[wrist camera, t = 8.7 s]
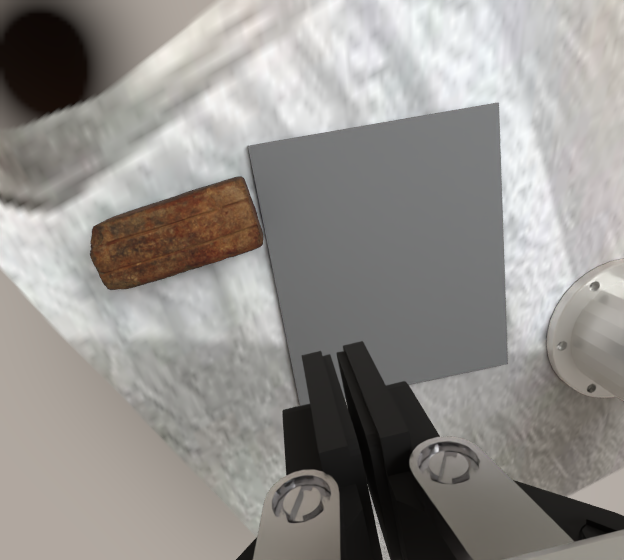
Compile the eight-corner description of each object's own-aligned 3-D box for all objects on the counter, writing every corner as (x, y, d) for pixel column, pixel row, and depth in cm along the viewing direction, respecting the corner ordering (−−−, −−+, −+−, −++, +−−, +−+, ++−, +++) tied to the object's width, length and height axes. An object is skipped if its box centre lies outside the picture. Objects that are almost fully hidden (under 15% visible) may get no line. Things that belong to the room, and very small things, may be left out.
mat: (495, 103, 32) (498, 102, 31) (505, 361, 38) (507, 363, 37) (247, 145, 30) (247, 145, 30) (300, 405, 37) (300, 407, 36)
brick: (265, 236, 32) (244, 174, 31) (265, 247, 28) (241, 176, 27) (125, 280, 32) (98, 219, 31) (106, 297, 28) (74, 227, 27)
